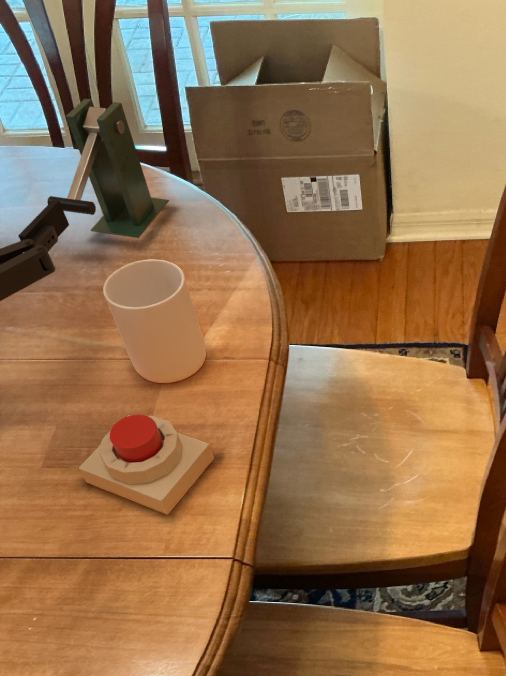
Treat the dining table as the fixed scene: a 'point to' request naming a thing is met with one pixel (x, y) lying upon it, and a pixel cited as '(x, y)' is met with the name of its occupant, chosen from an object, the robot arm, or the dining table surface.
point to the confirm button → (136, 438)
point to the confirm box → (150, 469)
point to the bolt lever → (84, 167)
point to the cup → (156, 320)
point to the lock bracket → (116, 173)
